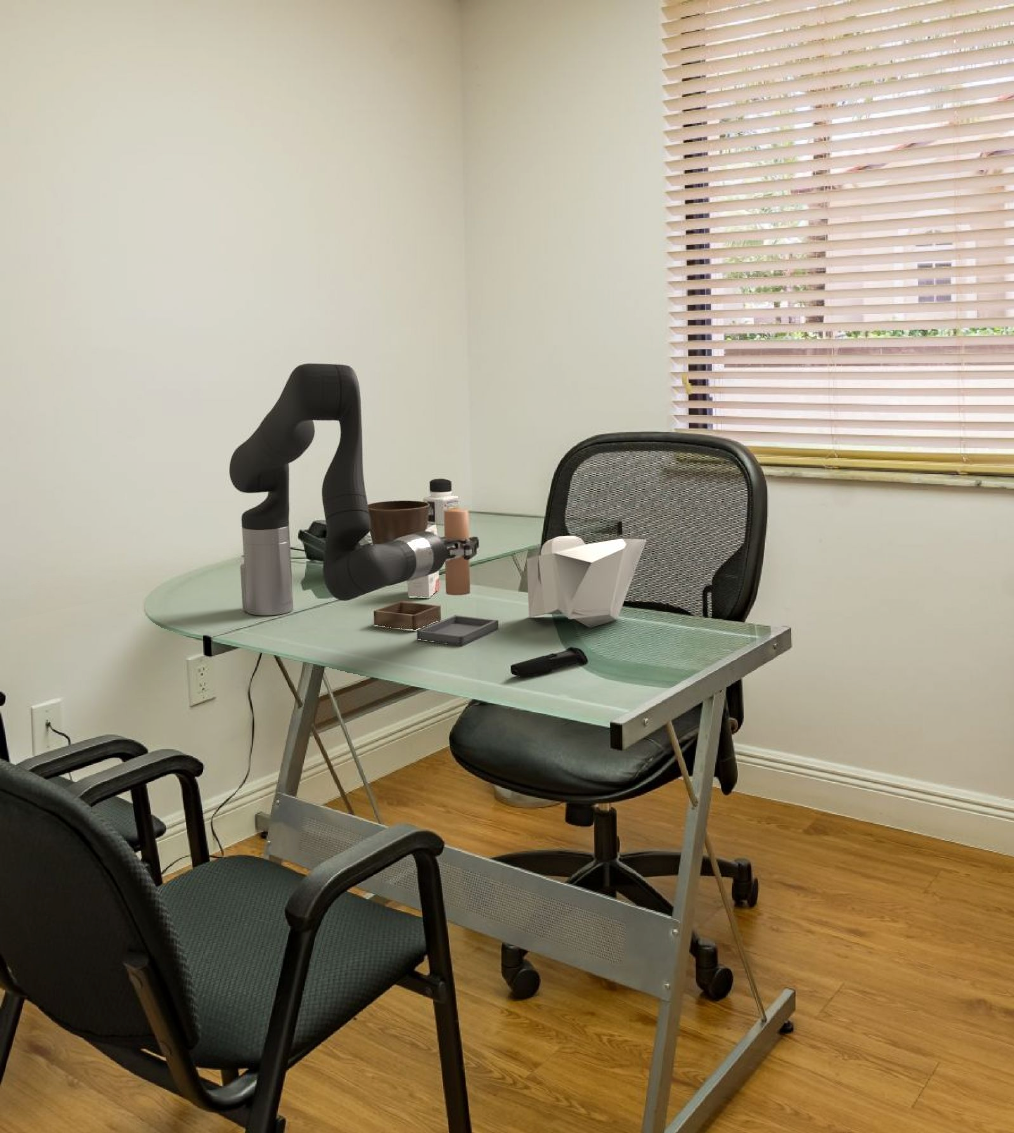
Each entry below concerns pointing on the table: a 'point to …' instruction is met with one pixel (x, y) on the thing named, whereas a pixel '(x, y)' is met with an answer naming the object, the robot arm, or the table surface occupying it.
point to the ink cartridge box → (425, 580)
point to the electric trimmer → (549, 662)
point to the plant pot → (397, 519)
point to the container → (440, 500)
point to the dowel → (460, 567)
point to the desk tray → (458, 630)
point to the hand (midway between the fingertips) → (464, 541)
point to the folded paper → (582, 578)
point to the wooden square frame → (407, 615)
